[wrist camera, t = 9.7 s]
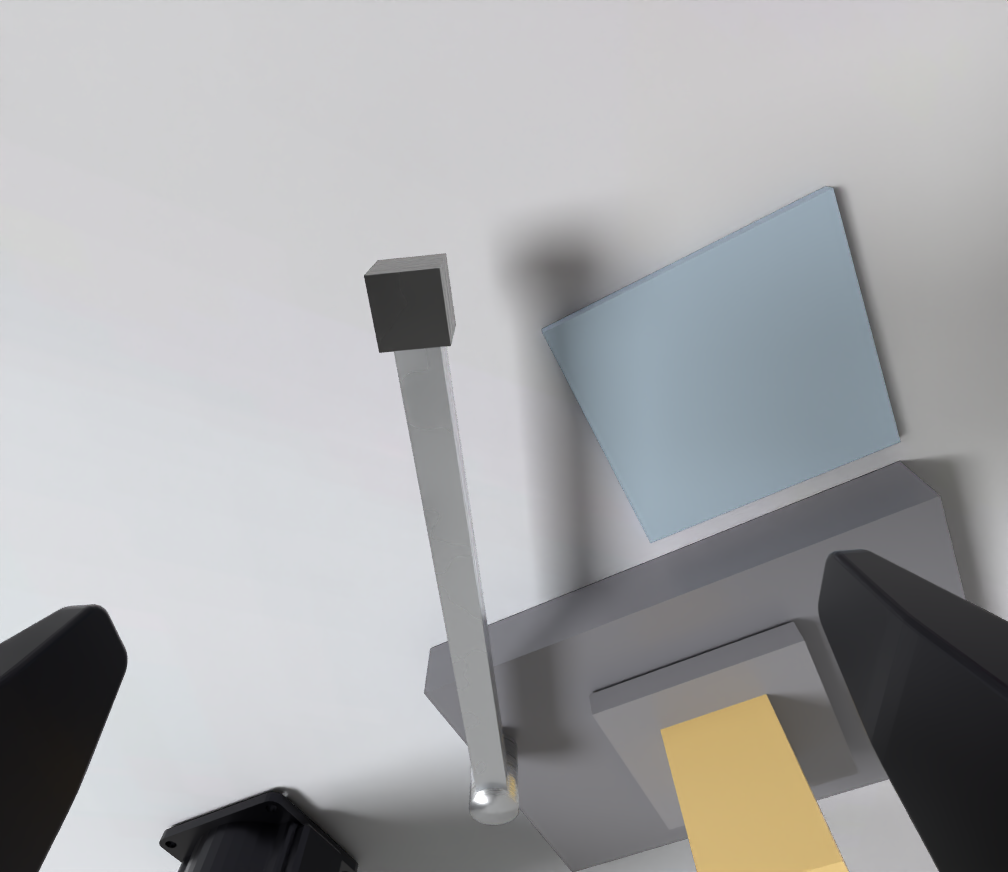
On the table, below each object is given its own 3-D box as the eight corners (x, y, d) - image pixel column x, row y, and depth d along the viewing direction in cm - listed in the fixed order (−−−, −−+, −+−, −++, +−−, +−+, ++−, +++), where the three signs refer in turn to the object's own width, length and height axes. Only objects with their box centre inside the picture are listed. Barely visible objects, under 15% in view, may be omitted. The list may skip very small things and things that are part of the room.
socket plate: (568, 823, 28) (572, 872, 26) (429, 648, 23) (424, 693, 21) (964, 699, 24) (1001, 745, 22) (900, 461, 19) (940, 495, 18)
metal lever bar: (519, 761, 22) (521, 825, 20) (475, 764, 22) (472, 827, 20) (450, 247, 14) (442, 267, 12) (381, 253, 14) (361, 275, 12)
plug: (651, 756, 26) (709, 1000, 18) (581, 645, 23) (617, 883, 16) (819, 700, 24) (952, 943, 17) (766, 575, 21) (899, 802, 14)
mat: (647, 535, 21) (650, 543, 20) (541, 328, 17) (542, 333, 17) (893, 435, 19) (900, 441, 19) (825, 186, 16) (833, 187, 15)
